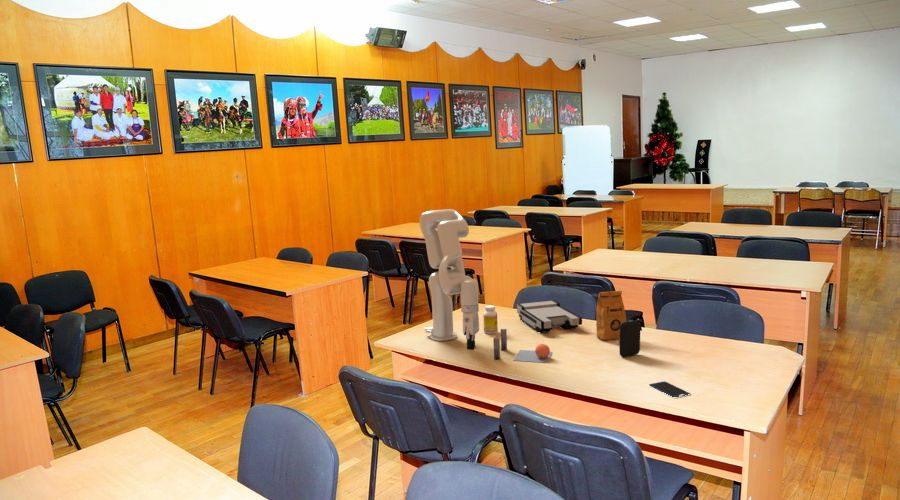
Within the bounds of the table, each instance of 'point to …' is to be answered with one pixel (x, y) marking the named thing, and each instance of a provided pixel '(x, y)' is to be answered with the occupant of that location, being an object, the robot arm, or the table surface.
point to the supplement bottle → (490, 320)
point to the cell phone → (669, 389)
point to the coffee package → (609, 315)
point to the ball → (542, 351)
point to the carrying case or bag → (629, 338)
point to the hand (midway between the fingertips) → (471, 349)
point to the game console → (547, 316)
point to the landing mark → (530, 357)
